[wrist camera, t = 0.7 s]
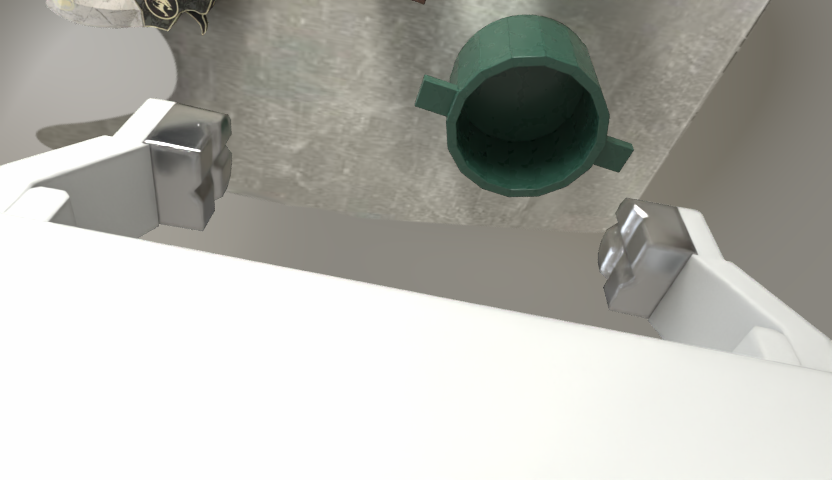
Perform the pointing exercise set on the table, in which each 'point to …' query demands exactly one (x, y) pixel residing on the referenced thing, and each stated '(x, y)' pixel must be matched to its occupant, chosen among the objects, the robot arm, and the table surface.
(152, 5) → the revolver
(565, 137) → the pot
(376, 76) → the table surface
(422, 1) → the walnut box
